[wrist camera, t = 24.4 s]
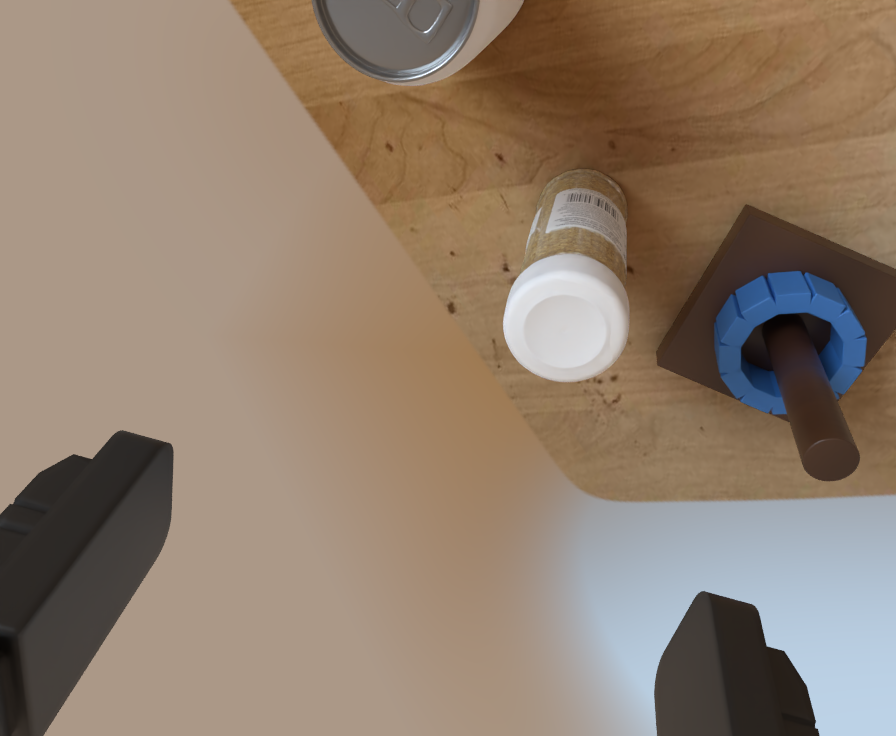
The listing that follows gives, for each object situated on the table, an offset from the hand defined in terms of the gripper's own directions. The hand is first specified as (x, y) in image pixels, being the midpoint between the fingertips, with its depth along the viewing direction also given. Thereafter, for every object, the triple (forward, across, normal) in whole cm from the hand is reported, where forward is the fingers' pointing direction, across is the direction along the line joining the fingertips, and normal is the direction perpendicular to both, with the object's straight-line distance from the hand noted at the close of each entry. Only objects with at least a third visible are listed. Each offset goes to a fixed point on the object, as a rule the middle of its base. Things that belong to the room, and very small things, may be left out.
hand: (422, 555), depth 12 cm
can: (+31, +5, -4) cm, 32 cm away
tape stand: (+30, -15, +8) cm, 34 cm away
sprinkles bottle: (+30, -4, +5) cm, 31 cm away
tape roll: (+28, -15, +8) cm, 33 cm away
